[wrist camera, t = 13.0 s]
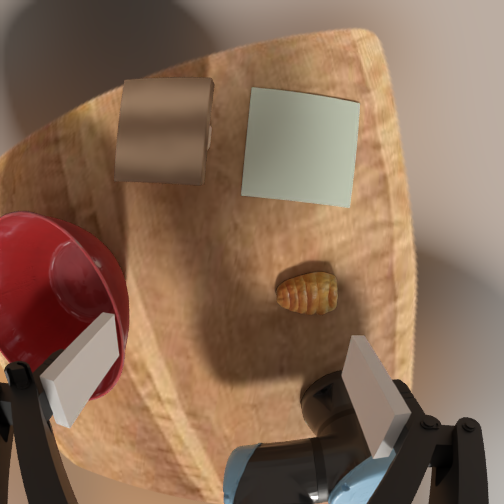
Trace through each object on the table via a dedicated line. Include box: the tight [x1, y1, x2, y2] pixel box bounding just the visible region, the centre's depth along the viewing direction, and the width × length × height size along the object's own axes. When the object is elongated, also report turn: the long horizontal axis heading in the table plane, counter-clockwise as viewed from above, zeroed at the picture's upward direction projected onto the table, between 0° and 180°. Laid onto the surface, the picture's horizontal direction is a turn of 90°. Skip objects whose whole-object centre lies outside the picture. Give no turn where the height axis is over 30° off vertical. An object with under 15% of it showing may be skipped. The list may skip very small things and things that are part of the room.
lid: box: [114, 77, 214, 185], centre depth 35 cm, size 13×11×3 cm
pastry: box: [276, 272, 338, 315], centre depth 46 cm, size 9×7×4 cm
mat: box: [241, 87, 360, 208], centre depth 42 cm, size 16×16×1 cm
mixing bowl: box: [0, 211, 129, 401], centre depth 41 cm, size 28×28×15 cm
